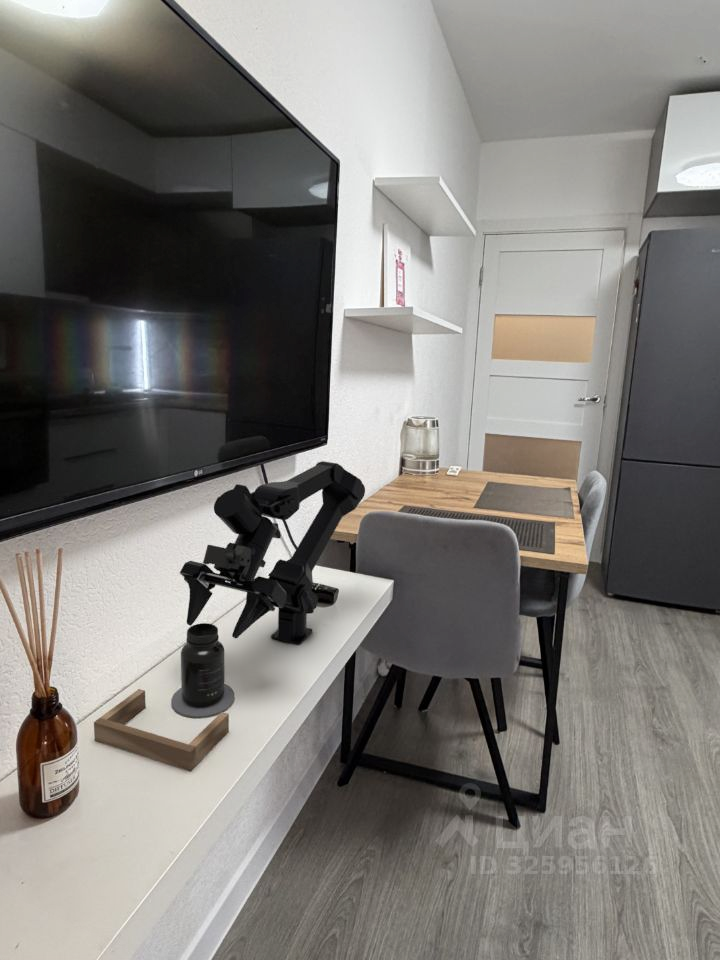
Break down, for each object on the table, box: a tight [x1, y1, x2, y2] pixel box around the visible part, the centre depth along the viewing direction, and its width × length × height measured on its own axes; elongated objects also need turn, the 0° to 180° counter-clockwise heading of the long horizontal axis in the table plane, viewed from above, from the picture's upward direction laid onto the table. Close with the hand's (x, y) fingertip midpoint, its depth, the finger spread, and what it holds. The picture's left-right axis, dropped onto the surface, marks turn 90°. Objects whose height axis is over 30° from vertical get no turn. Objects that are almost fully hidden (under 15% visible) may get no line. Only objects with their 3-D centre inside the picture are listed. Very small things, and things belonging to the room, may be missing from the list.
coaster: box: [170, 683, 236, 719], centre depth 97 cm, size 10×10×1 cm
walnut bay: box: [93, 688, 230, 772], centre depth 88 cm, size 10×16×3 cm, turn 70°
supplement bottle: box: [180, 622, 226, 708], centre depth 96 cm, size 7×7×12 cm
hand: (210, 630), depth 97 cm, fingers open, 9 cm apart
